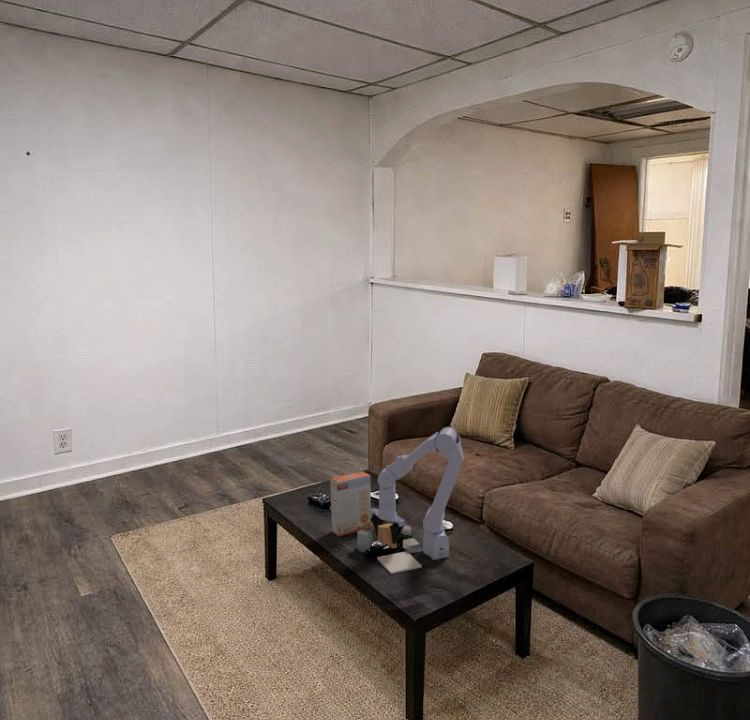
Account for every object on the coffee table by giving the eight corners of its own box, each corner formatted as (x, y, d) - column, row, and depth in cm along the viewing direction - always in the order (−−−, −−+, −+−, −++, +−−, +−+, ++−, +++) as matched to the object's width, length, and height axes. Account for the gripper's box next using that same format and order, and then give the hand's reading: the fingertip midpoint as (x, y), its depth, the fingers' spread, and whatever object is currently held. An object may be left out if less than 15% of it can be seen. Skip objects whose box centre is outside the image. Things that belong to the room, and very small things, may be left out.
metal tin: (419, 552, 215) (419, 543, 214) (409, 554, 213) (409, 545, 213) (413, 546, 220) (413, 537, 219) (403, 547, 218) (403, 539, 218)
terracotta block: (396, 547, 218) (396, 528, 217) (383, 550, 216) (383, 531, 215) (390, 541, 222) (390, 523, 221) (377, 544, 221) (377, 525, 219)
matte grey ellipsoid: (414, 536, 227) (414, 530, 226) (399, 539, 224) (399, 533, 224) (406, 530, 232) (406, 523, 232) (392, 533, 230) (392, 526, 229)
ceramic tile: (421, 567, 204) (421, 565, 204) (390, 574, 200) (390, 572, 200) (406, 552, 214) (406, 551, 214) (377, 558, 210) (377, 557, 210)
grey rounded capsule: (374, 550, 216) (374, 534, 215) (360, 553, 214) (360, 537, 213) (369, 544, 220) (369, 528, 219) (355, 547, 218) (355, 530, 217)
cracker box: (363, 522, 238) (363, 470, 235) (371, 528, 233) (371, 475, 230) (330, 531, 231) (329, 477, 227) (338, 537, 226) (337, 482, 222)
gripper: (410, 505, 214) (410, 542, 217) (380, 494, 224) (380, 529, 227) (396, 511, 209) (396, 549, 212) (366, 499, 219) (366, 535, 222)
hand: (387, 539), depth 219 cm, fingers open, 7 cm apart
